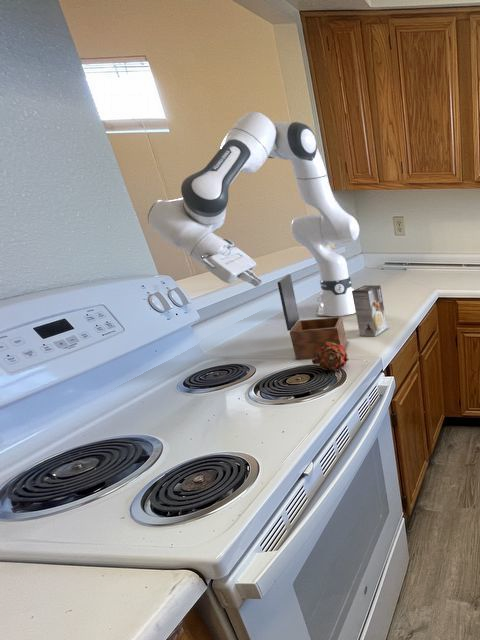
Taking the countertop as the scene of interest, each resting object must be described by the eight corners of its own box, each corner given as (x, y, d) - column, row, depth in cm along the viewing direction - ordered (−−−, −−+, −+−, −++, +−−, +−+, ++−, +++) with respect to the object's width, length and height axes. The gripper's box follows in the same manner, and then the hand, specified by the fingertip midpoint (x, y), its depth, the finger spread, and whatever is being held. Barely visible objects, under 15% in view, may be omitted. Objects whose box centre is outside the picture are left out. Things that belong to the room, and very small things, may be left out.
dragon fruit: (343, 380, 116) (325, 375, 124) (361, 356, 119) (342, 352, 127) (318, 362, 110) (301, 358, 118) (338, 337, 113) (320, 335, 121)
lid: (290, 274, 129) (287, 274, 129) (280, 282, 118) (277, 282, 118) (299, 319, 135) (296, 319, 135) (290, 330, 124) (287, 330, 124)
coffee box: (371, 327, 155) (364, 284, 148) (387, 328, 154) (381, 285, 147) (359, 335, 147) (351, 290, 140) (376, 336, 145) (368, 291, 139)
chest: (346, 341, 141) (342, 316, 138) (342, 354, 130) (337, 327, 126) (304, 345, 139) (298, 320, 135) (296, 359, 128) (289, 332, 124)
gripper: (203, 247, 107) (254, 282, 113) (231, 239, 125) (274, 270, 131) (189, 266, 108) (241, 300, 114) (220, 255, 126) (263, 285, 132)
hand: (259, 283), depth 123 cm, fingers closed
